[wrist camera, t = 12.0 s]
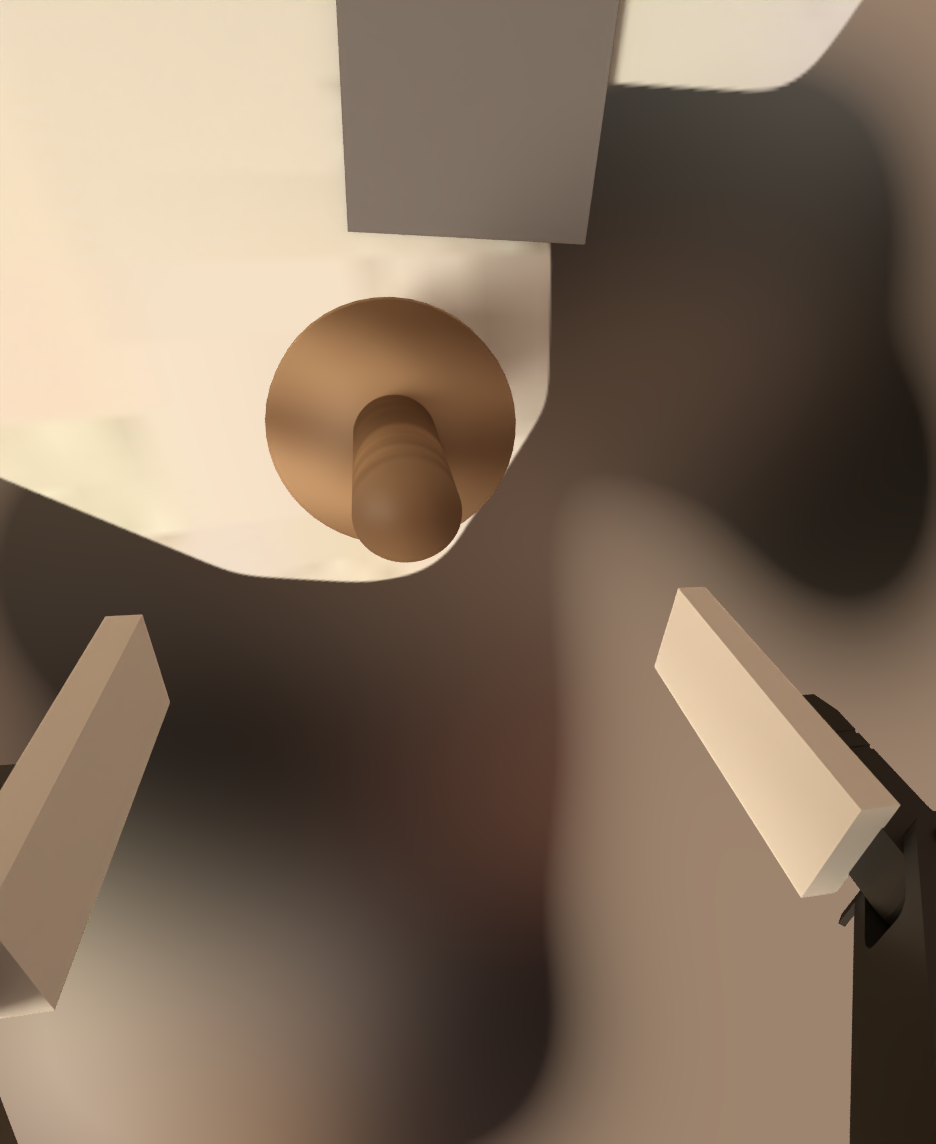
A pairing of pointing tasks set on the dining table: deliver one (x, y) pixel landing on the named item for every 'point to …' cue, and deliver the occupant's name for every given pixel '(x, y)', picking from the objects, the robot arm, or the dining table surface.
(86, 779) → the robot arm
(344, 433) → the lid
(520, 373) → the dining table surface
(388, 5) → the mat
